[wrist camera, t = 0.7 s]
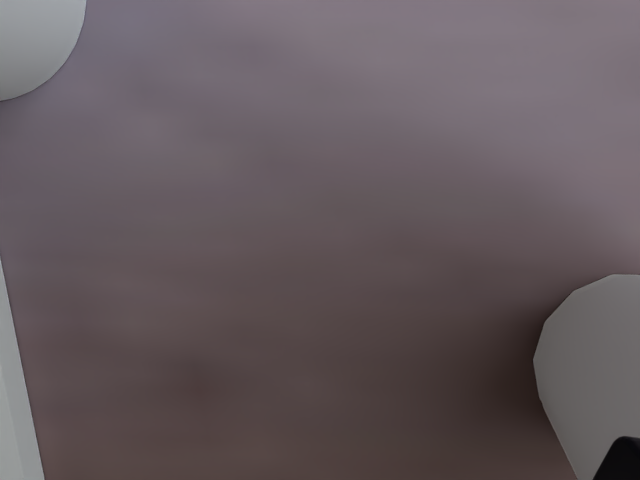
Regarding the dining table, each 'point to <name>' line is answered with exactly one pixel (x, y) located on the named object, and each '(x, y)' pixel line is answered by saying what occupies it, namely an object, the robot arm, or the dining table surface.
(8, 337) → the stand
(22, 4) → the cylindrical container
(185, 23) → the dining table surface
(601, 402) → the foam cup
